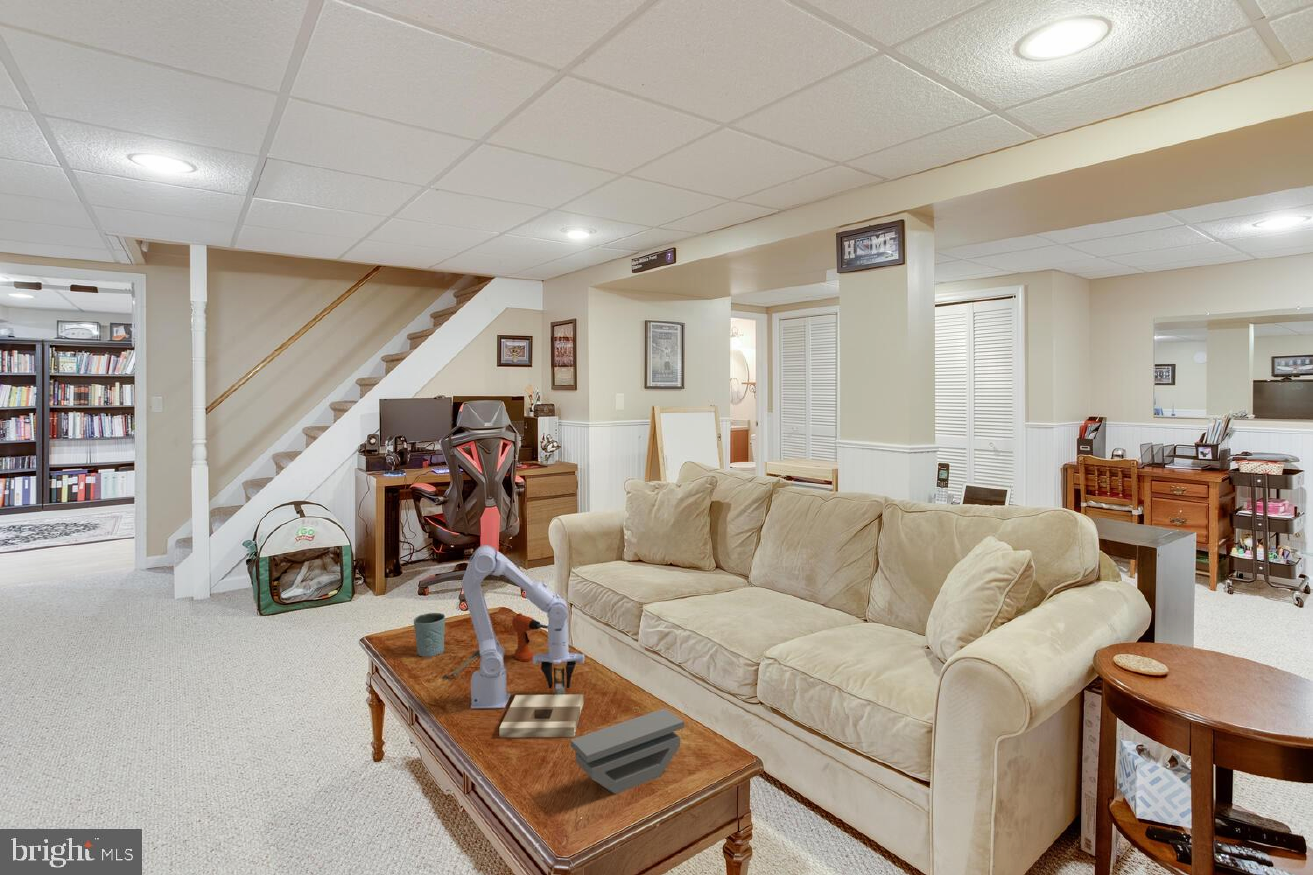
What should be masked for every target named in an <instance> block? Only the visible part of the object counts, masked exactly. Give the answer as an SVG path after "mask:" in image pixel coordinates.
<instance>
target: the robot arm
mask: <svg viewBox="0 0 1313 875" xmlns="http://www.w3.org/2000/svg"><path fill="white" fill-rule="evenodd" d="M492 572H493V576H500V575H501V576H502V575H503V576H505V577H506V578H507V579H508V580H510V581H512V582H513V583H514V584H516V585H517V586H518V587H519V588H521V589H522V590H523V591H525V598H526V599H527V600H529V602H531V603H532V604H533V605H534V606H536V607H537V608H538V609H540V611H542V612H544V613H546V616H547V619H548V624H547V626H548V629H547V646H548V648H547V650H548V651H547V652H548V653H541V654H534V656H533V660H532V664H533V665H537V664H541V665H540V669H541V671H542V673H543V675H544V677H545V679H546V681H547V686H548V689H553V687H554V686H553V685H554V679H553V665H556V664H557V665H559V664H561V663H564V664H565V663H566V664H565V674H566V683H565V687H566V689H570V686H571V681H572V675H573V673H574V670H575V668H576V665H577V663H579V664H584V663H585V653H584V654H583V653H582V654H581V653H574V652H569V651H570V650H569V625H568V617H569V613H570V612H569V611H568V609H569V608H568V606H567V605H568V604H567V602H566V600H565V599H564V598H563V597H562V596H560V595H559V594H558V593H556V594H555V593H554V592H553V590H551V589H549V588H548V584H547V583H546V582H541V581H539V580H538V581H532V580H531V579H530V577H528V576H527V575H526V573H524V572H522V570H520V569H519V568H518V567H517V566H516V564H514V563H513V562H512V561H511V560H510V559H509V558H507V557H506V556H505V555H504V554H503V553H501V552H500V551H498V550H496V549H495V547H493V546H491V545H488V544H487V545H486V544H483V545H481V546H479V547H477V548H476V549H475V551H474V552H473V553H472V555H471V556H470V558H469V561H468V564H467V566H466V570H465V572H464V575H463V578H462V581H461V587H462V592H463V594H464V597H465V601H466V604H467V608H468V612H469V614H470V617H471V622H472V625H473V629H474V632H475V636H476V639H477V641H478V650H479V651H480V654H479V655H480V663H479V670H476V671H474V672H473V673H472V676H471V679H470V680H471V681H470V697H471V698H470V699H471V700H470V701H471V706H470V708H471V709H505V708H506V706H507V704H508V702H509V700H510V698H511V696H512V693H508V692H507V690H508V689H507V687H508V686H507V685H508V684H507V668H506V666H505V664H504V657H505V648H504V647H503V645H501V644H500V642H499V640H498V637H497V635H496V634H495V630H494V626H493V624H492V620H491V617H490V616H491V615H490V613H489V609H488V606H487V602H486V599H485V596H484V595H485V594H484V592H483V589H482V585H481V584H482V582H483V581H484V579H485V578H486V577H487V576H489V575H490V574H491V573H492Z"/></svg>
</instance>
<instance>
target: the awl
mask: <svg viewBox="0 0 1313 875" xmlns="http://www.w3.org/2000/svg"><path fill="white" fill-rule="evenodd" d="M565 674H566V673H565V666H564V665H557V666H554V667H553V685H554V686H553V687H554V692H553V693H554V695H566V682H565V681H566V679H565V677H566V676H565Z"/></svg>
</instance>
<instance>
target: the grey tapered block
mask: <svg viewBox="0 0 1313 875" xmlns="http://www.w3.org/2000/svg"><path fill="white" fill-rule="evenodd" d="M684 728H685V722H684V720H683V719H681V718H680V717H678V716H677V715H676V714H675V713H673V712H671V710H669V709H667V708H660V709H659V710H656V711H651V712H649V713H646V714H642V715H640V716H637V717H634V718H631V719H628V720H625V721H622V722H619V723H616V724H613V725H610V726H607V727H604V728H601V729H599V730H595V731H592V732H590V733H586V734H584V735H581V736H578V737H573V738H571V739H570V748H572V749H573V750H574V752H575V763H576V764H577V765H578V766H579V767H580V768H581V769H582V770H583V771H584V772H585V773H586V775H588V776H589V778H590V779H591V780H593V781H595V782H596V783H597V784H599V785H601V786H602V787H604V788H605V789H607V790H609V791H610V792H612V793H613V794H615V795H618V794H621V793H623V792H626V791H628V790H630V789H633V788H635V787H637V786H641V785H642V784H645V783H647V782H650V781H652V780H655V779H657V778H660V777H661V776H662V775H663V773H664V771H665V770H666V769H667V767H668V765H669V764H670V762H671V761H672V760H673V758H674V756H675V754H676V753H677V751H678V750H679V749H680V747H681V736H680V735H679V734H677V733H676V731H678V730H679V731H680V730H682V729H684Z"/></svg>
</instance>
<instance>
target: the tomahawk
mask: <svg viewBox="0 0 1313 875" xmlns="http://www.w3.org/2000/svg"><path fill="white" fill-rule="evenodd" d="M479 655H480V651H479V649H477V650H476V651H474V653H473V655H472V656H471V657H469V658H467V660H466V661H464V662H463V663H462V664H461V665H460V666H458V667H457V668H456V669H455V670H453V671H452V673H451V674H449V675H447V674H445V675H443V676H442V679H444V678H448V679H447V680H451V679H455V681H456V680H457V678H456V677H455V676H458V673H459V672H462V670H463V669H465V667H467V666H468V665H469V664H470V663H471V662H473V661H474V660H475V659H477V658H478V656H479ZM448 676H454V677H448Z"/></svg>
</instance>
